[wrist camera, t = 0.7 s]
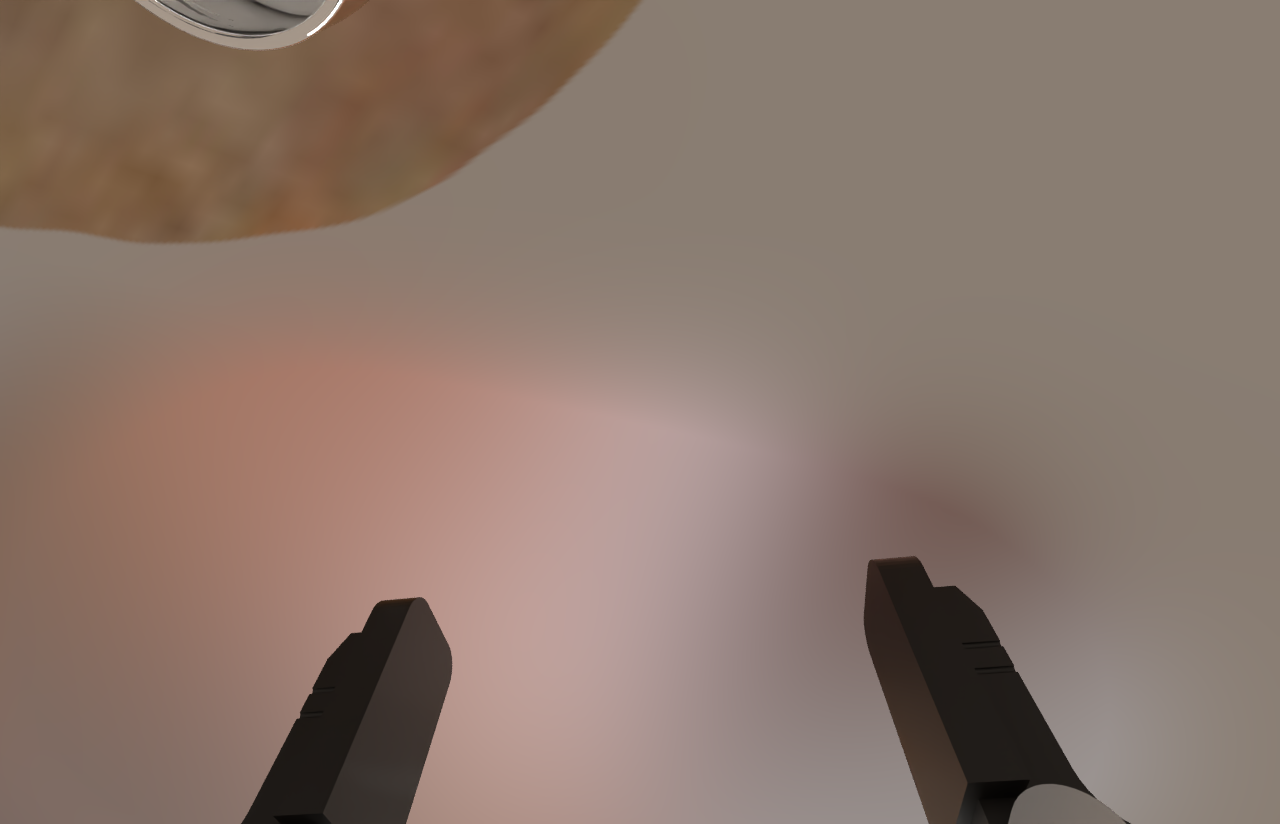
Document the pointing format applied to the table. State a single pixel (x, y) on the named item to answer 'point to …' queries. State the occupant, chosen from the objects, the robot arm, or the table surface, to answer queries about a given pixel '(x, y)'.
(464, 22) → the table surface
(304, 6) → the beer glass
